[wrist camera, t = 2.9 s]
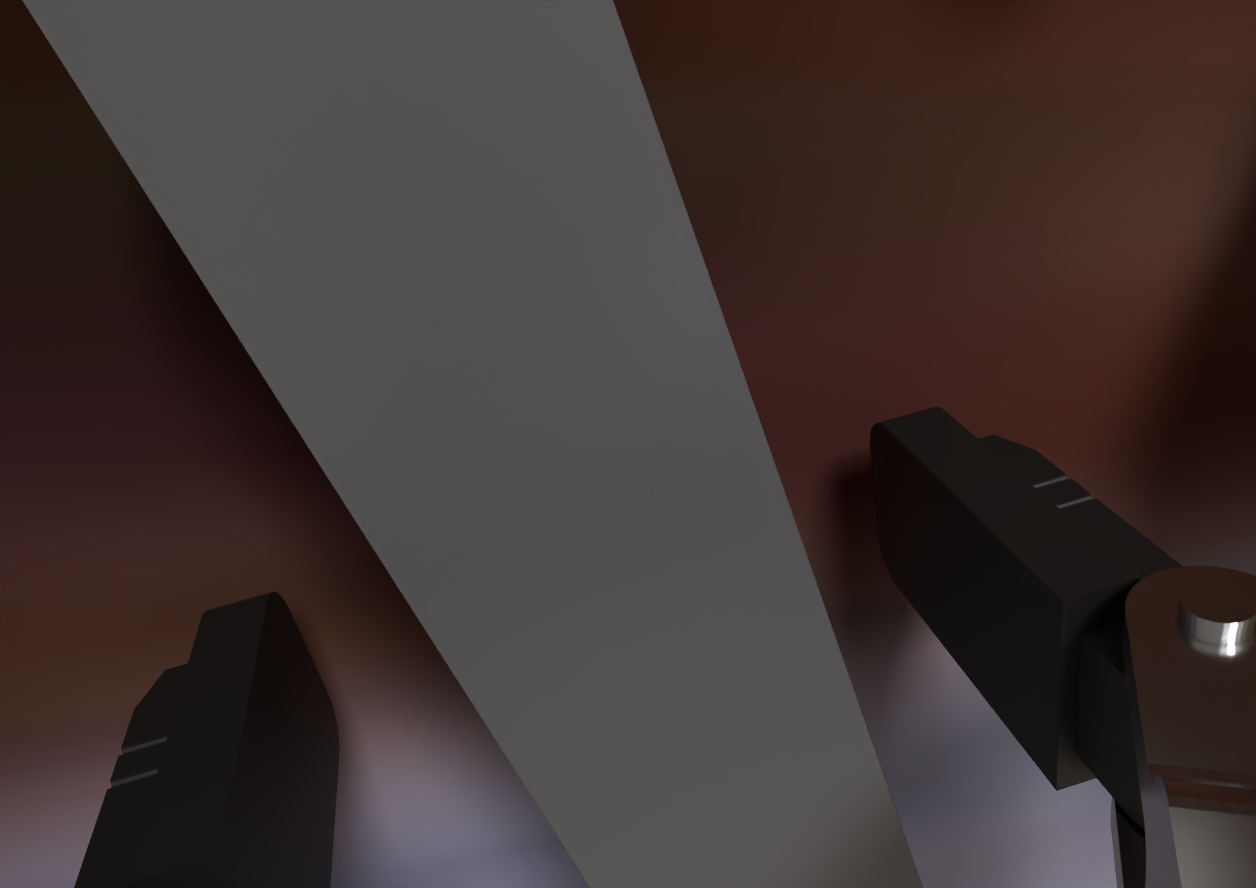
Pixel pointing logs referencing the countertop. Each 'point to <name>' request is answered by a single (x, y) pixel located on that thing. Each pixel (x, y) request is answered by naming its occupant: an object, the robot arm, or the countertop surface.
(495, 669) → the tall gray bar
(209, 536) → the countertop surface
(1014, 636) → the robot arm
